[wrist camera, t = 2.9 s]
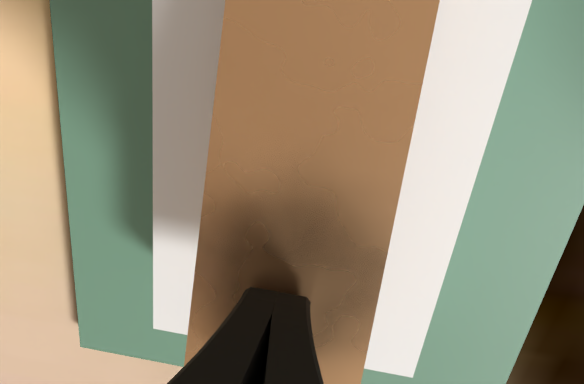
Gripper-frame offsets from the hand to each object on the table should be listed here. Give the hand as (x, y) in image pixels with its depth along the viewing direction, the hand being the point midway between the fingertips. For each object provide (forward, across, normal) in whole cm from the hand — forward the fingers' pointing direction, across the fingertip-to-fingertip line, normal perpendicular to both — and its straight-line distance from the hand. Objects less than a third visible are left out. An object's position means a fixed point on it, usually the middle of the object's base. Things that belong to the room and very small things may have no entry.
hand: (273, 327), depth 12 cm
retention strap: (+2, 0, -4) cm, 4 cm away
